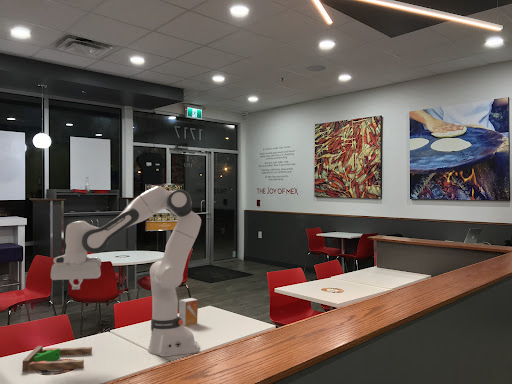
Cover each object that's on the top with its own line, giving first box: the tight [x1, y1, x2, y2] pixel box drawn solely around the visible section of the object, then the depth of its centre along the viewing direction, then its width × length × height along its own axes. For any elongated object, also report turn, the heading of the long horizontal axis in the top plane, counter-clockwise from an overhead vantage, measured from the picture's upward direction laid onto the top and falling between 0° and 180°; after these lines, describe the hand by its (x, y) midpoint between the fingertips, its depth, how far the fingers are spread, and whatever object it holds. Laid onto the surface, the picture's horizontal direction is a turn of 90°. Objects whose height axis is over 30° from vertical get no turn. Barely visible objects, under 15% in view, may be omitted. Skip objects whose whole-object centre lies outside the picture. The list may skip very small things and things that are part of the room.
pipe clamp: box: [34, 347, 61, 362], centre depth 169 cm, size 11×4×5 cm, turn 156°
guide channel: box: [21, 345, 93, 372], centre depth 171 cm, size 22×17×4 cm
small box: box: [178, 297, 199, 327], centre depth 226 cm, size 8×6×13 cm
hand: (76, 289), depth 183 cm, fingers closed
